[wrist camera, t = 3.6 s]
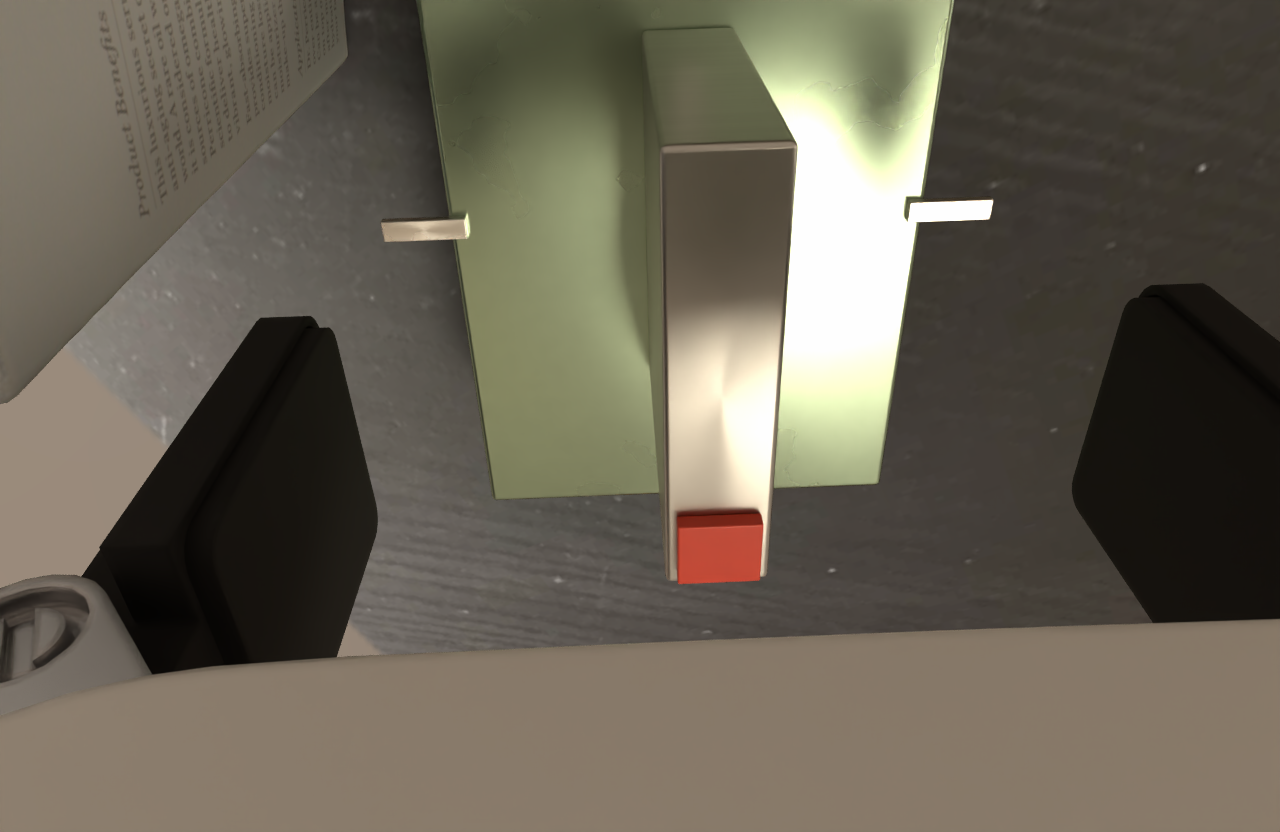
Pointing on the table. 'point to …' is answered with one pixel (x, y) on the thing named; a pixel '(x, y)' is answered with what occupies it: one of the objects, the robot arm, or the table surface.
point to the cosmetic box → (129, 139)
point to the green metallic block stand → (616, 222)
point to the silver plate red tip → (715, 297)
